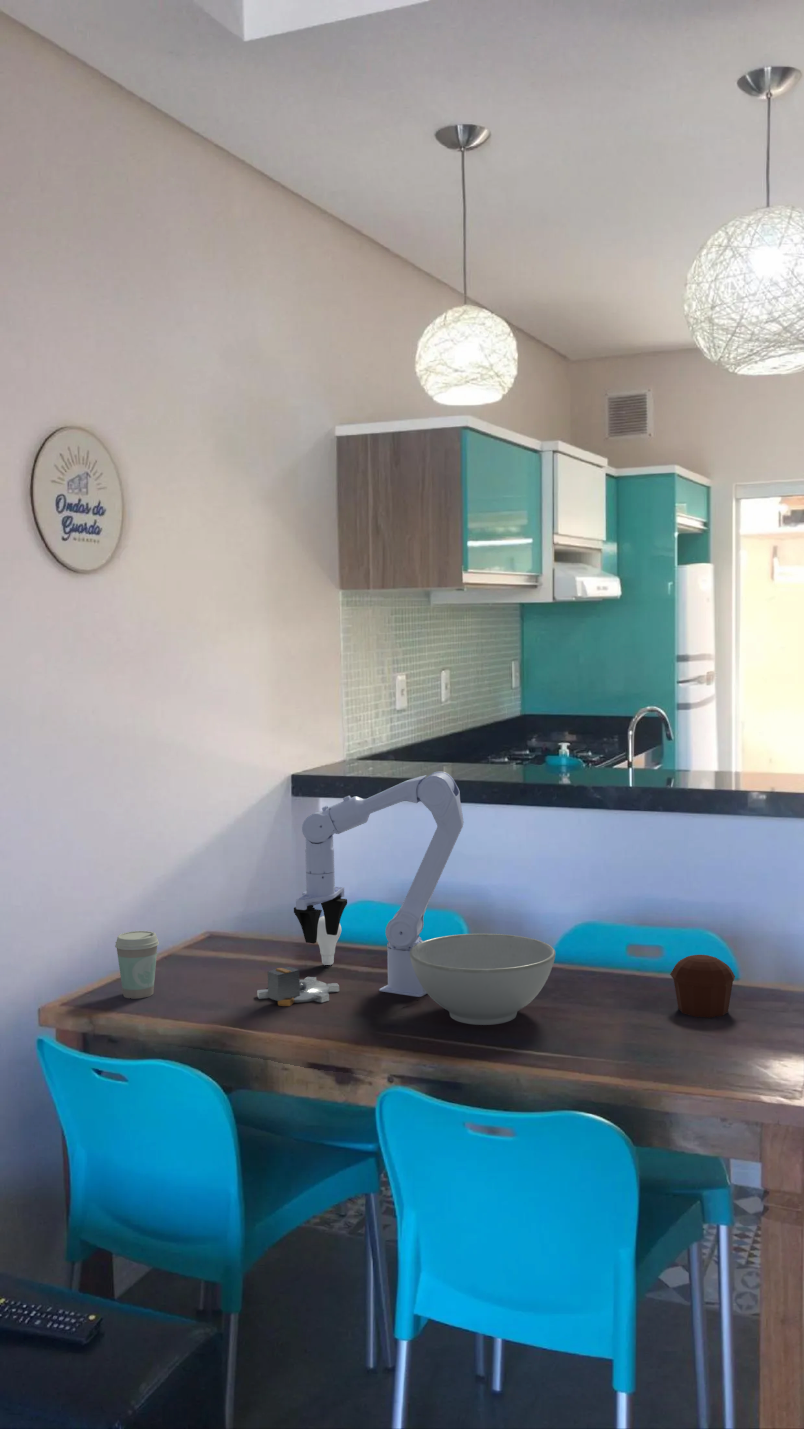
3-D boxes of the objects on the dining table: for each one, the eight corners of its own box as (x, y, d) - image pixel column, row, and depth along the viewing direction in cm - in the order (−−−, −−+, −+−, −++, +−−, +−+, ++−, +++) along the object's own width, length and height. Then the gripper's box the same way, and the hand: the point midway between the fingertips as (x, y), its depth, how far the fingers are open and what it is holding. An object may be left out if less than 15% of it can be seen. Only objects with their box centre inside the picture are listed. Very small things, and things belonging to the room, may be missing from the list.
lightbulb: (338, 970, 252) (337, 919, 252) (310, 969, 253) (309, 918, 253) (344, 963, 258) (343, 913, 258) (317, 962, 259) (316, 912, 259)
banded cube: (299, 995, 229) (299, 969, 228) (278, 1001, 225) (277, 974, 225) (289, 992, 231) (288, 965, 231) (268, 997, 228) (267, 970, 228)
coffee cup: (128, 1003, 231) (126, 942, 230) (109, 994, 237) (107, 935, 237) (168, 995, 236) (166, 935, 235) (147, 986, 243) (146, 928, 242)
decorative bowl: (515, 988, 237) (514, 928, 236) (583, 1026, 212) (582, 959, 211) (389, 1004, 227) (388, 942, 227) (444, 1046, 202) (443, 976, 202)
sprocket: (317, 978, 245) (316, 956, 245) (353, 997, 231) (352, 973, 231) (245, 990, 237) (244, 967, 237) (278, 1010, 223) (277, 986, 223)
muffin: (744, 1007, 221) (743, 954, 221) (723, 1023, 212) (723, 968, 212) (682, 998, 228) (682, 946, 228) (660, 1013, 219) (660, 959, 218)
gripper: (323, 864, 247) (324, 929, 248) (282, 876, 234) (284, 944, 235) (352, 867, 243) (353, 932, 244) (312, 879, 231) (313, 948, 231)
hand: (321, 938), depth 239 cm, fingers open, 7 cm apart
